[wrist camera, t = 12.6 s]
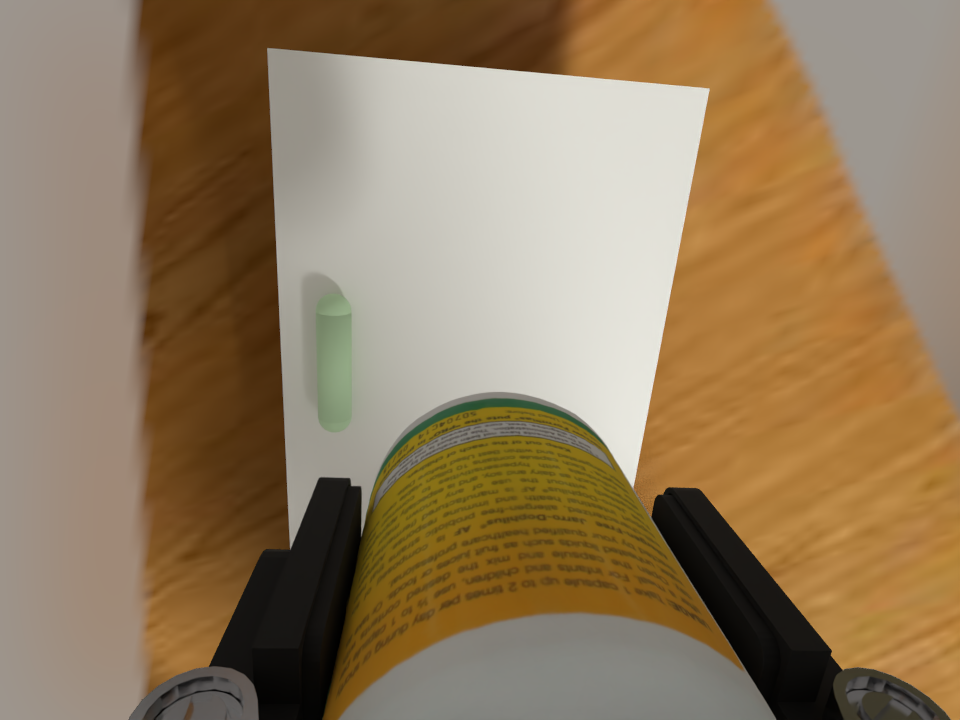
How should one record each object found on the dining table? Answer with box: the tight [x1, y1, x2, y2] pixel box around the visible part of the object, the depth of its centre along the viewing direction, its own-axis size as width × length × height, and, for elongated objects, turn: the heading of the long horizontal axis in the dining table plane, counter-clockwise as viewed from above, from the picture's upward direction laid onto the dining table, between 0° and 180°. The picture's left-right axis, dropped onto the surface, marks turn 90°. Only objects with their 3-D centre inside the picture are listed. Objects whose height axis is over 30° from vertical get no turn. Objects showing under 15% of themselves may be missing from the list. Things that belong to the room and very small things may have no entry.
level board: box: [267, 48, 709, 550], centre depth 22 cm, size 20×14×3 cm
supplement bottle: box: [322, 392, 776, 720], centre depth 8 cm, size 5×5×10 cm
